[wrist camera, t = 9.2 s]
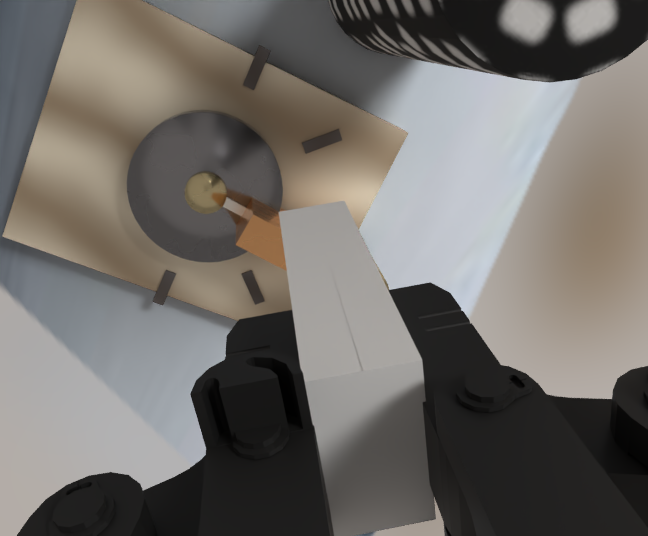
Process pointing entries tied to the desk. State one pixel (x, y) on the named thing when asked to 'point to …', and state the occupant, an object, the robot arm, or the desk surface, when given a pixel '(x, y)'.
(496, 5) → the spotted tube
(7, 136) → the desk surface
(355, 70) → the desk surface
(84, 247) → the panel
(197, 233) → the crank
